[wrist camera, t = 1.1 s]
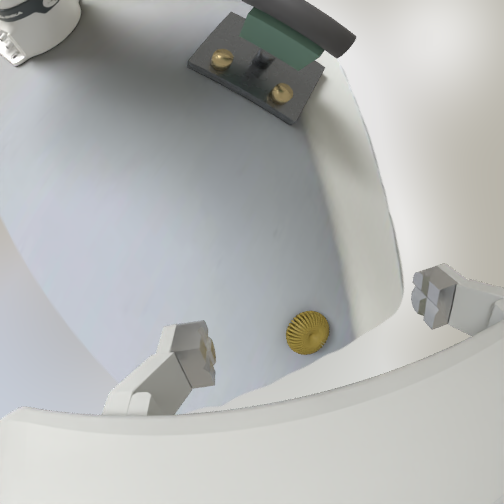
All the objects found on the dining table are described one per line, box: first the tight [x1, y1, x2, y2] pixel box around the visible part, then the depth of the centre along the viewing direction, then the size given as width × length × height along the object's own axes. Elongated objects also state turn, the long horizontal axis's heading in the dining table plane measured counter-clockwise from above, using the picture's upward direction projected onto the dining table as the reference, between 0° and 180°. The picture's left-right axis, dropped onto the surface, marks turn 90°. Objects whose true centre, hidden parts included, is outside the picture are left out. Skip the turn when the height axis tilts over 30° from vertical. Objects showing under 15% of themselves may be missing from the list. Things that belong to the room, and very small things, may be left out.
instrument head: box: [239, 0, 356, 71], centre depth 28 cm, size 13×6×14 cm, turn 62°
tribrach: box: [187, 12, 325, 125], centre depth 39 cm, size 20×14×7 cm
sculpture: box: [286, 311, 329, 355], centre depth 48 cm, size 8×4×8 cm
